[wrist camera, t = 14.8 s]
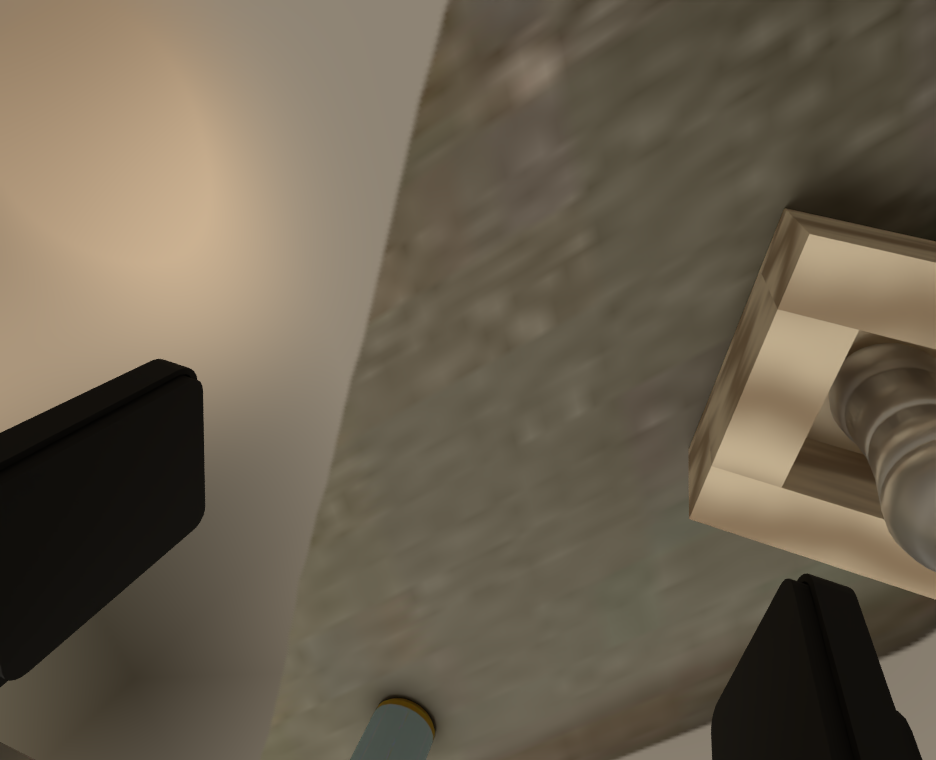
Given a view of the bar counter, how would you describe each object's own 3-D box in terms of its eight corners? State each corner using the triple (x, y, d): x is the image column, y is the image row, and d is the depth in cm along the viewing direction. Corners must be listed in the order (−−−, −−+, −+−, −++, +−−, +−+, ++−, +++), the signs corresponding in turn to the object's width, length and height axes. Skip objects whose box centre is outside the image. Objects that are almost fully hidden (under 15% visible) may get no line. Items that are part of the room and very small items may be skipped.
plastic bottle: (846, 442, 42) (960, 682, 25) (803, 358, 41) (892, 547, 23) (956, 406, 39) (1175, 648, 22) (914, 314, 38) (1109, 491, 20)
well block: (784, 207, 39) (809, 233, 31) (1117, 281, 35) (1242, 332, 27) (688, 449, 47) (689, 518, 39) (952, 529, 43) (1011, 624, 35)
